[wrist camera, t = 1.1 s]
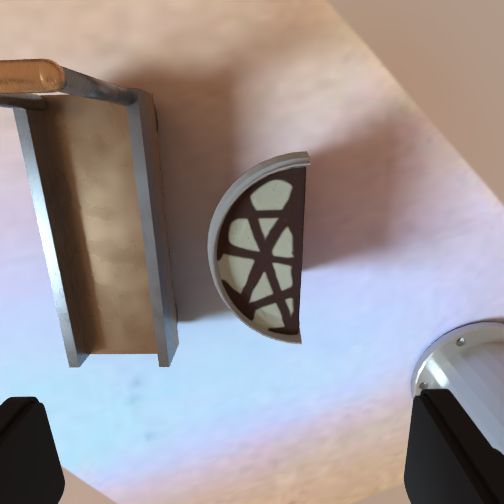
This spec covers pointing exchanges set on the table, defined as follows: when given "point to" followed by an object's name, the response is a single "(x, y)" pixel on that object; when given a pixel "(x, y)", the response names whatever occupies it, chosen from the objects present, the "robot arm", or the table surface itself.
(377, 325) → the table surface
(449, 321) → the table surface
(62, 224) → the trolley
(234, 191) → the food container
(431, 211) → the table surface
